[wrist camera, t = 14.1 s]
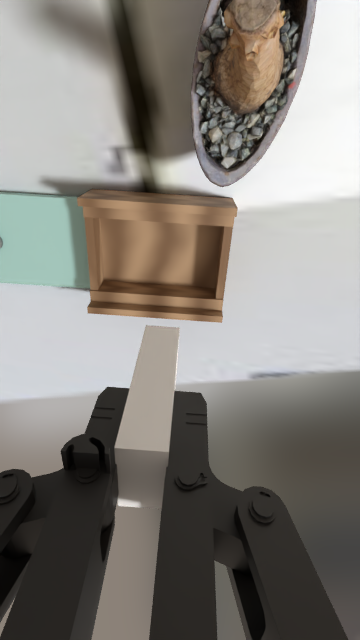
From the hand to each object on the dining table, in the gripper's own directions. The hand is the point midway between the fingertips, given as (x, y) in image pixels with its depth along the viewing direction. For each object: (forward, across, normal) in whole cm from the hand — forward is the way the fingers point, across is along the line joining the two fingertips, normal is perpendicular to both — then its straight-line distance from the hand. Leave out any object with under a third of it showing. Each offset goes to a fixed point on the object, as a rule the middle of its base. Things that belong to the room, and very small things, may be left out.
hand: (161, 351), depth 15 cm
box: (+32, -3, -6) cm, 33 cm away
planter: (+33, +5, +14) cm, 36 cm away
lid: (+33, -21, -6) cm, 39 cm away
